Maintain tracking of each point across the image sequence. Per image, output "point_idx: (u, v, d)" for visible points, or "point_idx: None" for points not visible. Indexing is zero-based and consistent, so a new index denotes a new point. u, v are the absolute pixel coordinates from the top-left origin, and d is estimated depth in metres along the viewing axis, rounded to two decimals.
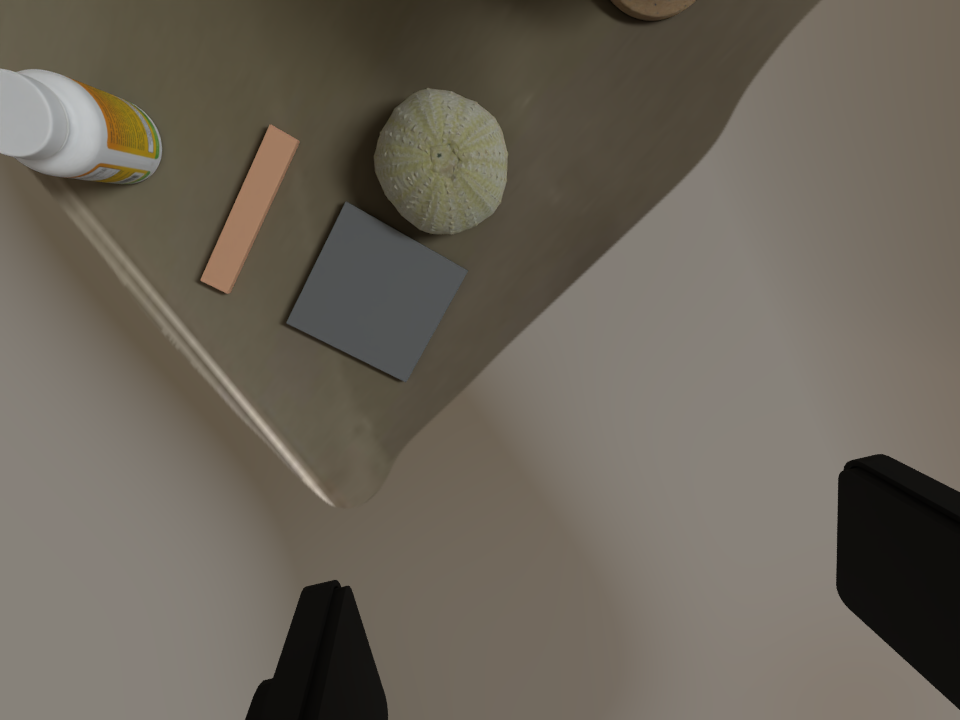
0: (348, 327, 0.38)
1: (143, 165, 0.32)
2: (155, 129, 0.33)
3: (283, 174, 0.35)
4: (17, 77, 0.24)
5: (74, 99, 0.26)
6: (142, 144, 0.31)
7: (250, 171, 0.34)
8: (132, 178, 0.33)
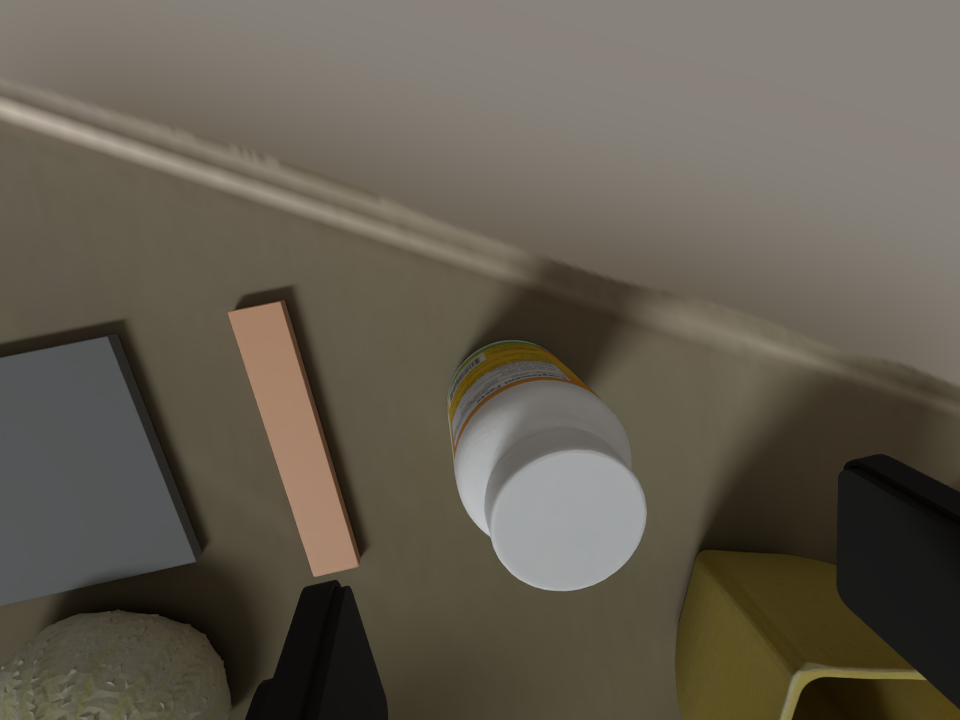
0: (16, 405, 0.19)
1: None
2: None
3: None
4: (582, 585, 0.13)
5: None
6: None
7: (336, 498, 0.21)
8: (453, 389, 0.19)
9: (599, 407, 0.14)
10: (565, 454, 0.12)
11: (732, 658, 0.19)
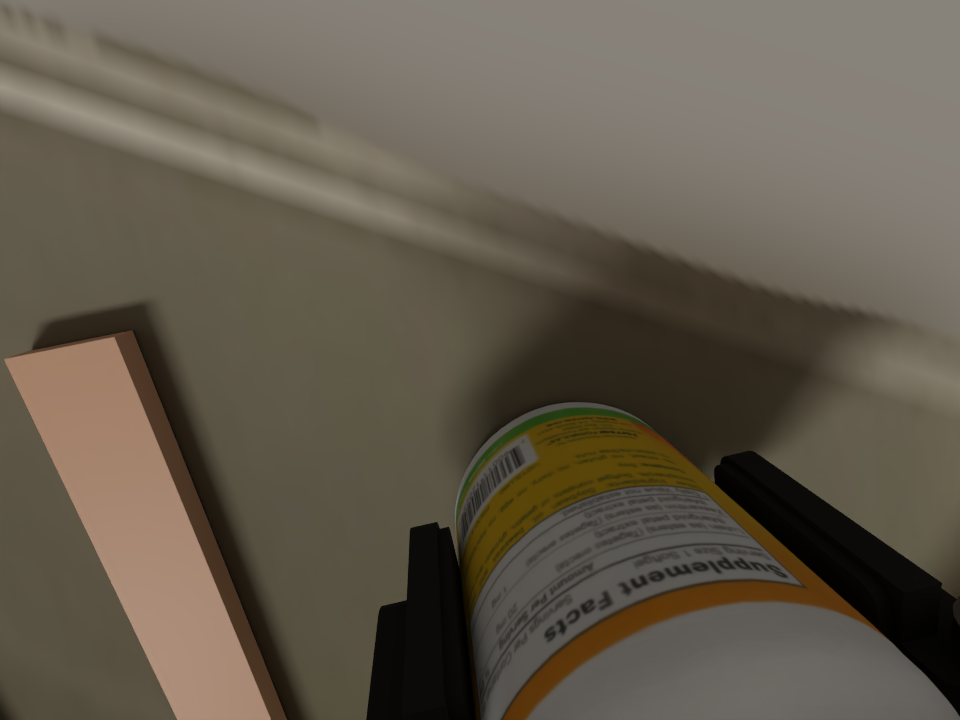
0: None
1: None
2: None
3: None
4: None
5: None
6: None
7: (253, 686, 0.12)
8: (469, 510, 0.10)
9: (937, 711, 0.05)
10: None
11: None
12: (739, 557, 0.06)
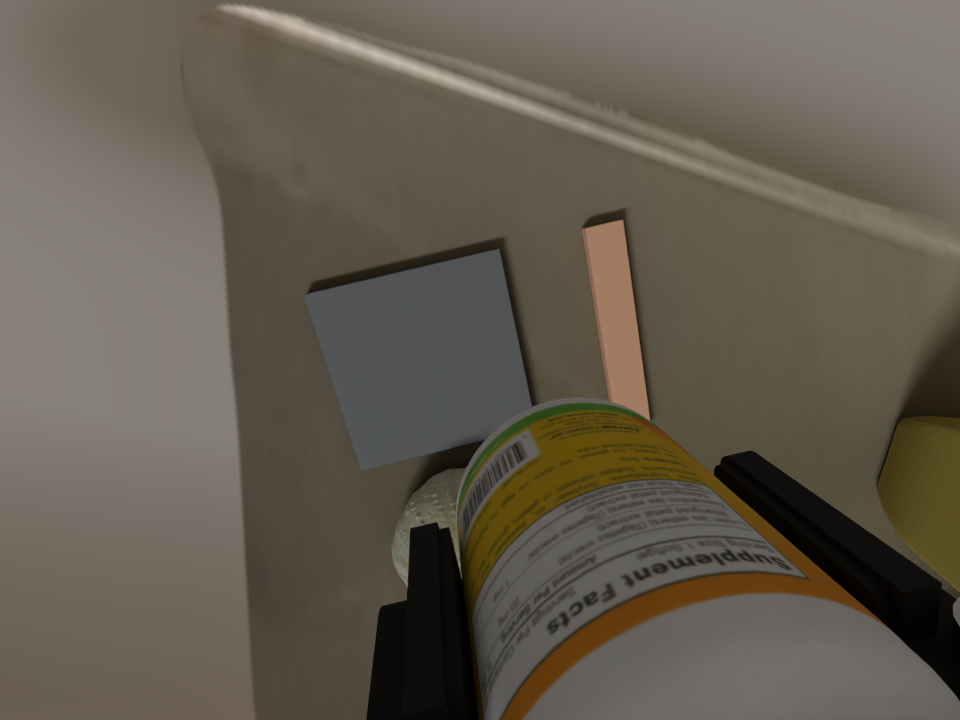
0: (428, 303, 0.26)
1: (461, 568, 0.10)
2: None
3: (610, 397, 0.28)
4: None
5: None
6: None
7: (642, 375, 0.28)
8: (470, 505, 0.10)
9: (942, 701, 0.05)
10: None
11: None
12: (743, 549, 0.06)
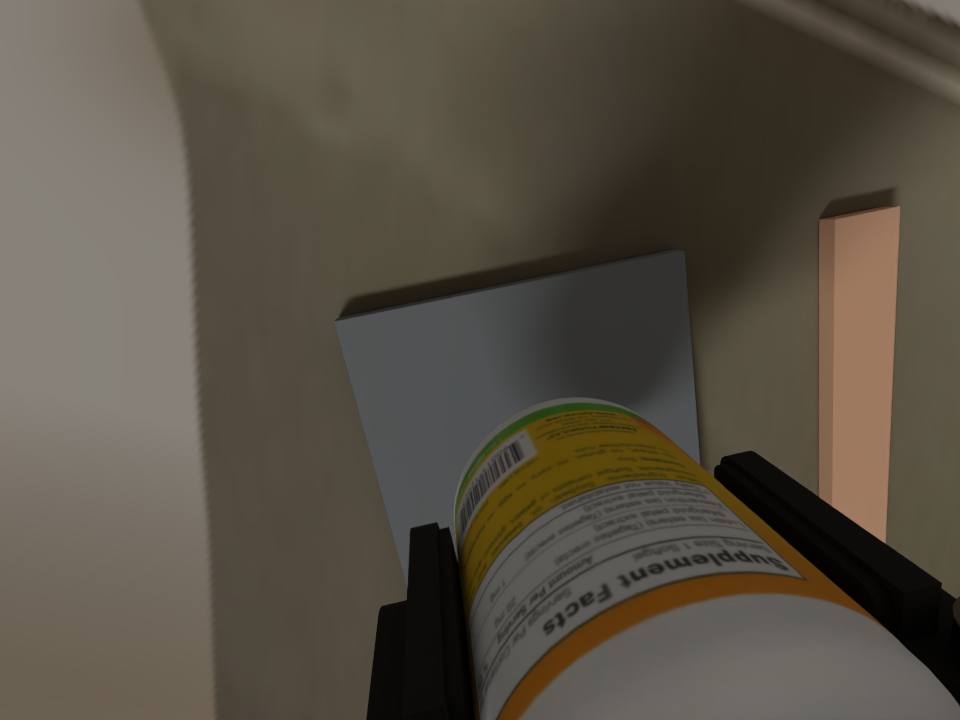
0: (552, 342, 0.14)
1: None
2: None
3: (826, 500, 0.17)
4: None
5: None
6: None
7: (885, 468, 0.17)
8: (467, 506, 0.10)
9: (940, 702, 0.05)
10: None
11: None
12: (740, 550, 0.06)
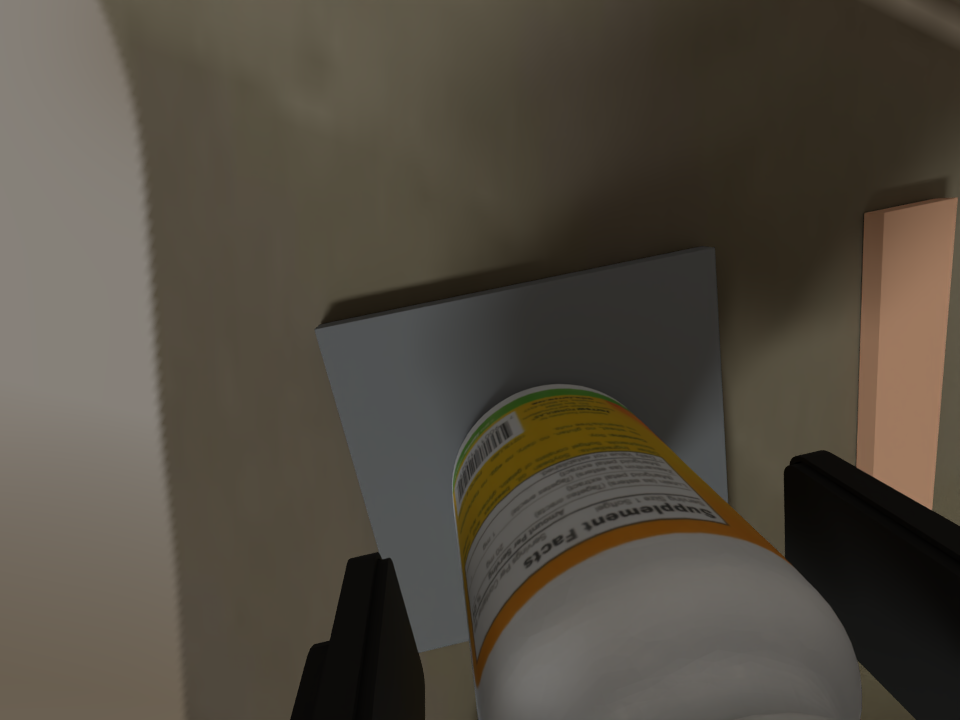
0: (564, 352, 0.13)
1: (456, 531, 0.11)
2: None
3: None
4: None
5: None
6: None
7: (930, 489, 0.15)
8: (464, 476, 0.11)
9: (814, 609, 0.06)
10: None
11: None
12: (679, 503, 0.07)
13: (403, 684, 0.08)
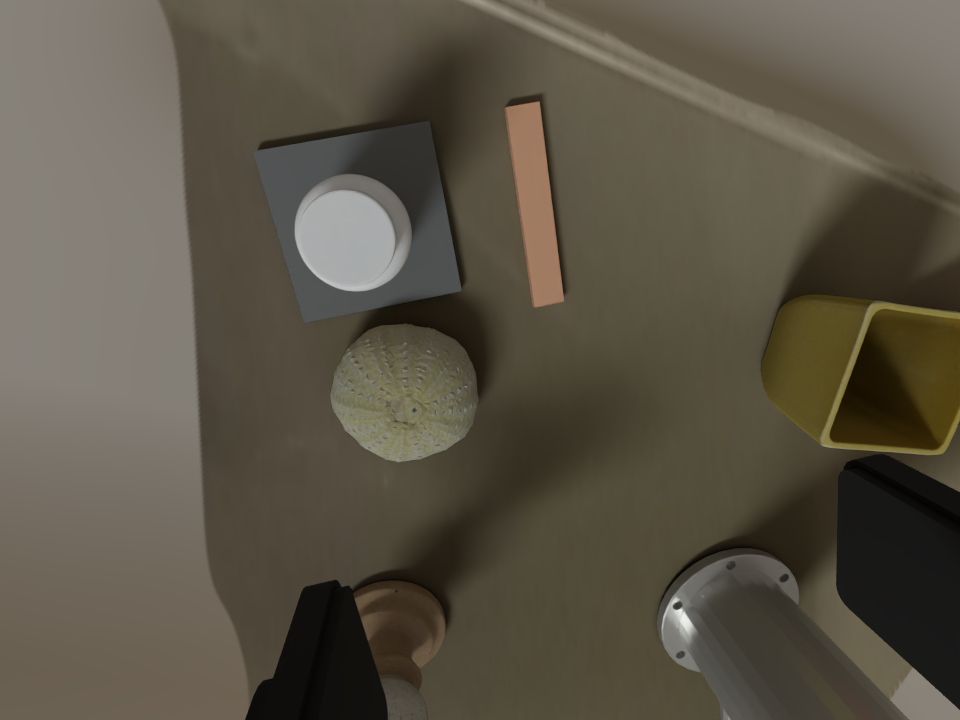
0: (366, 167, 0.29)
1: None
2: None
3: (528, 268, 0.32)
4: (358, 282, 0.21)
5: None
6: None
7: (556, 249, 0.32)
8: None
9: (383, 188, 0.23)
10: (339, 192, 0.20)
11: (819, 333, 0.30)
12: None
13: None
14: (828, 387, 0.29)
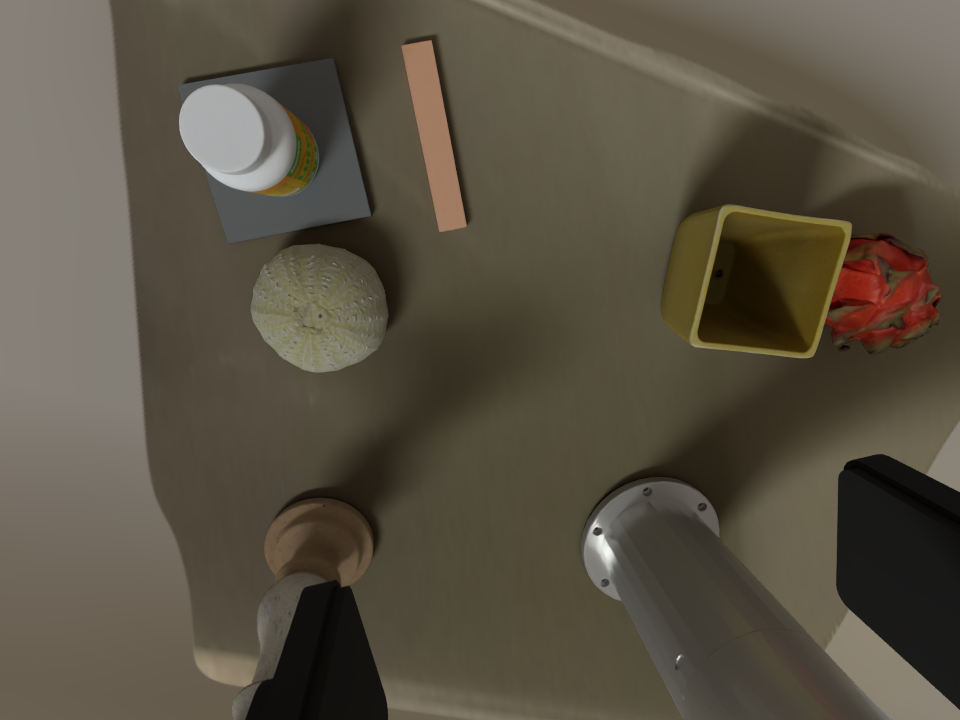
0: (277, 100, 0.33)
1: None
2: None
3: (432, 196, 0.36)
4: (233, 168, 0.25)
5: (228, 178, 0.27)
6: None
7: (456, 177, 0.35)
8: None
9: (264, 95, 0.26)
10: (212, 87, 0.24)
11: (691, 245, 0.33)
12: None
13: None
14: (695, 290, 0.31)
